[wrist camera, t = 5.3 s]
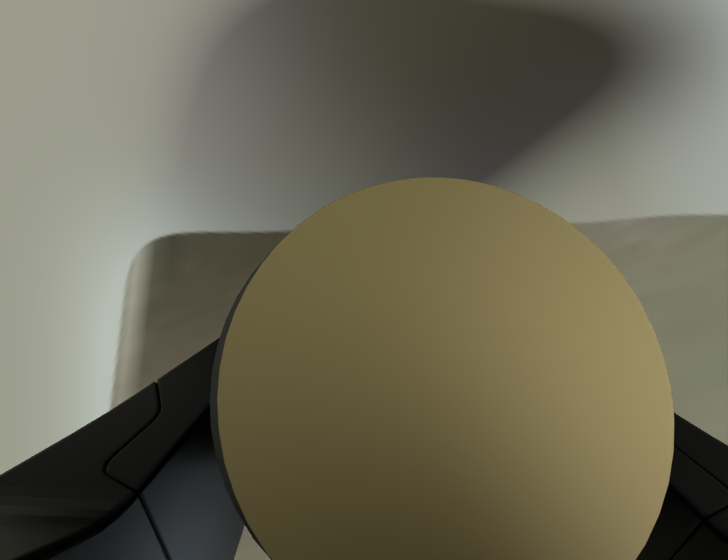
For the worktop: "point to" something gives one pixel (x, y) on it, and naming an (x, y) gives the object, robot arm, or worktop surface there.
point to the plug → (441, 386)
